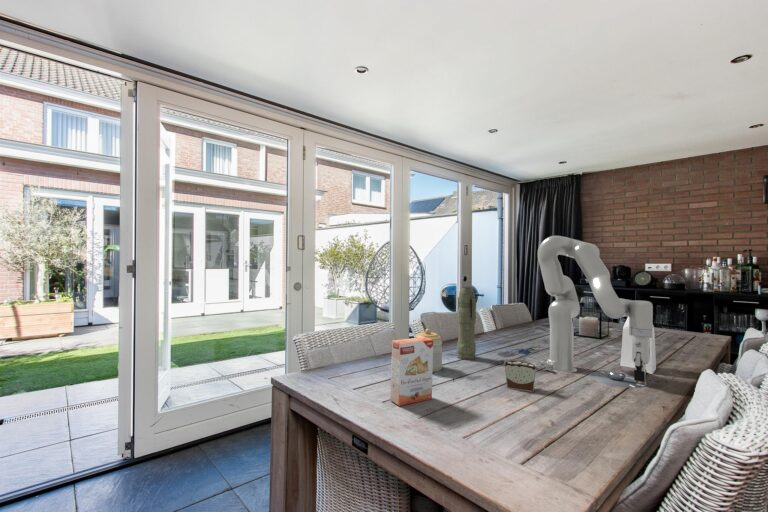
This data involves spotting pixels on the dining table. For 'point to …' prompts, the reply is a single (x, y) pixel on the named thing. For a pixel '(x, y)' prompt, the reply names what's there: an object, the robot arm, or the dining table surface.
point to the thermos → (466, 324)
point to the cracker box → (411, 370)
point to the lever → (623, 375)
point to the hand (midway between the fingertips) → (640, 379)
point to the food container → (520, 374)
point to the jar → (434, 348)
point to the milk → (627, 350)
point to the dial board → (614, 380)
